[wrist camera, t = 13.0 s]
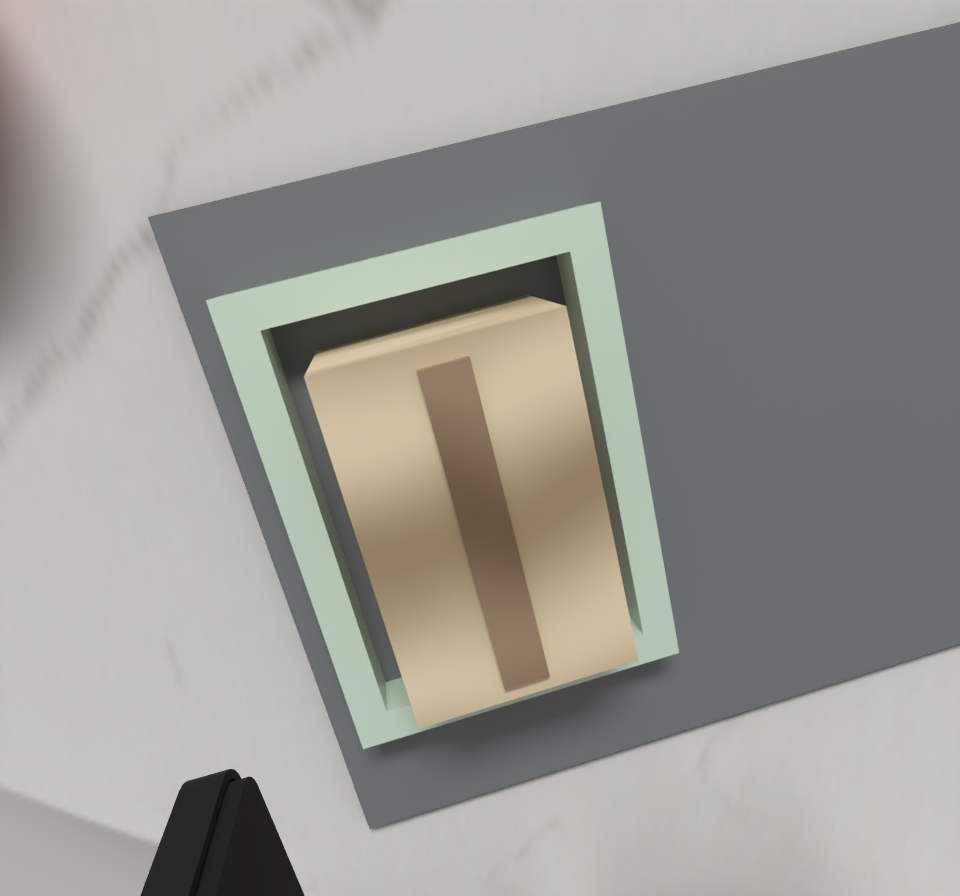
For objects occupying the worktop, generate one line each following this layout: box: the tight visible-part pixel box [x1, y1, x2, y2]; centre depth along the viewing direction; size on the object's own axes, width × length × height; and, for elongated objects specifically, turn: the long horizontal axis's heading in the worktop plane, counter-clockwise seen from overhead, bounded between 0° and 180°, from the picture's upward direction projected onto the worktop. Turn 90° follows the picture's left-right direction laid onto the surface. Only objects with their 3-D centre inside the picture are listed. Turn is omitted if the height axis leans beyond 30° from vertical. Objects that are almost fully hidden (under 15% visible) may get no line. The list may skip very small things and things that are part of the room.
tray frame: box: [206, 202, 679, 749], centre depth 20 cm, size 10×14×2 cm
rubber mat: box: [148, 22, 960, 829], centre depth 22 cm, size 24×20×1 cm
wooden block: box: [304, 295, 639, 729], centre depth 19 cm, size 10×6×4 cm, turn 14°
